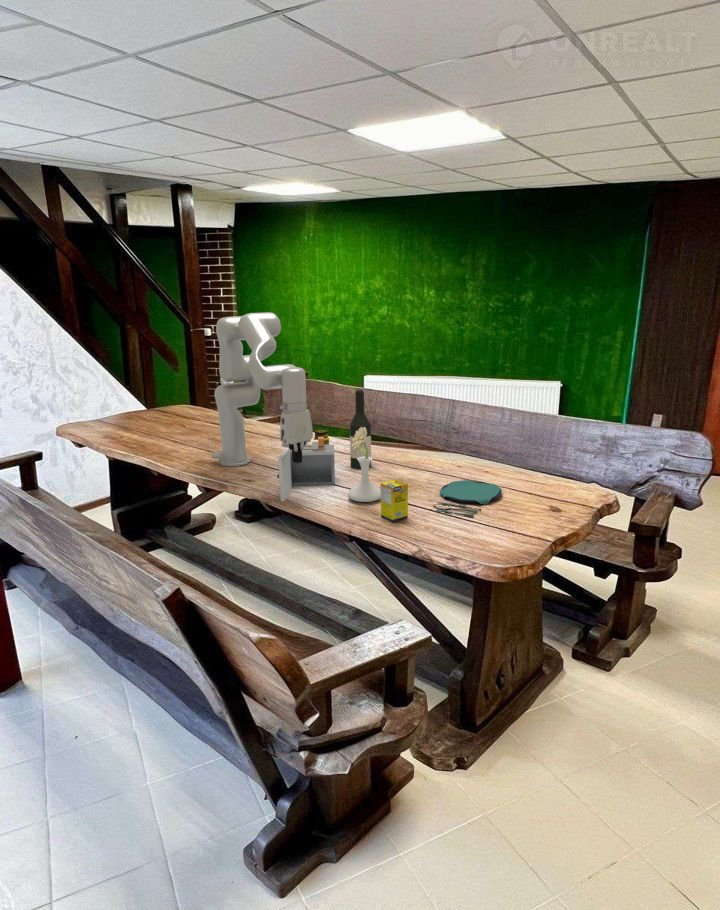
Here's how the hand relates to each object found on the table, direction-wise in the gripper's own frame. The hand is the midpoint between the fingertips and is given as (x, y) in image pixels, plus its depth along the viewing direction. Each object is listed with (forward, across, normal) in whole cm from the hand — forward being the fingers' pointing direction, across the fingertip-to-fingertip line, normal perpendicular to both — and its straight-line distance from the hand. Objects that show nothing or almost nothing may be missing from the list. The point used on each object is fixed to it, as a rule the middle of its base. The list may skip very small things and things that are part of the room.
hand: (297, 462), depth 198 cm
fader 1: (0, +15, +9) cm, 17 cm away
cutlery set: (+13, +38, -39) cm, 56 cm away
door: (+12, -1, +7) cm, 14 cm away
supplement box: (+12, +10, -34) cm, 38 cm away
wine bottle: (+12, +38, +12) cm, 42 cm away
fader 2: (0, +19, +11) cm, 22 cm away
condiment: (+13, +32, +30) cm, 46 cm away
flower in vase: (+12, +14, -17) cm, 25 cm away
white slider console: (+12, +14, +11) cm, 22 cm away
